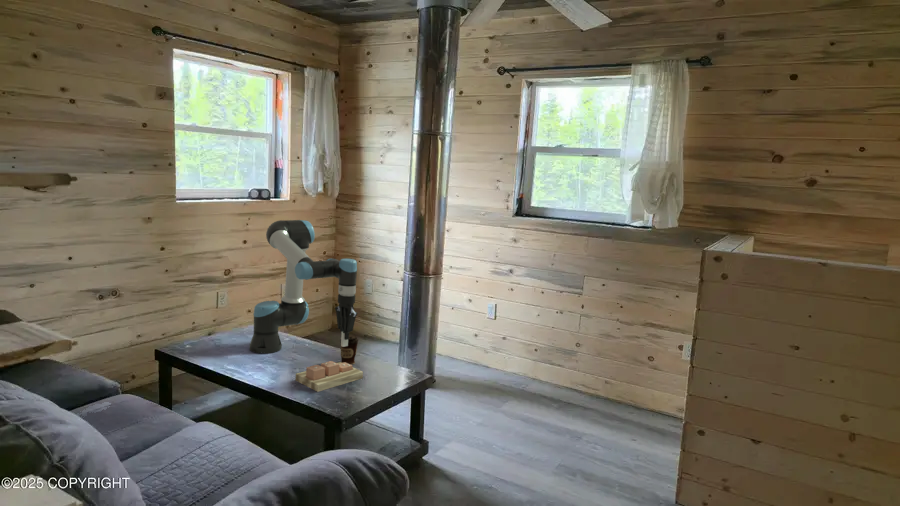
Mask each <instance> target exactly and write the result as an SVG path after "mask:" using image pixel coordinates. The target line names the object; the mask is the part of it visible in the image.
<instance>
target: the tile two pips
mask: <svg viewBox="0 0 900 506" xmlns="http://www.w3.org/2000/svg"><path fill="white" fill-rule="evenodd" d="M337 363H338V362H335V361H333V360H330V361H326V362H322V363H320V366H322V367H324V368H325V375H326V376H328V377H329V376H333V375H336V374H339V364H337Z"/></svg>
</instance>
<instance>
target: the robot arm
mask: <svg viewBox="0 0 900 506" xmlns="http://www.w3.org/2000/svg"><path fill="white" fill-rule="evenodd" d="M265 233H266V237H265V238H266V240H267V243H268V244H269V245H270V246H271V247H272V248H273V249H277V250H278V251H279V253H280V254H282V255H283V256H284V257H285V259H286V271H285V285H284V295H283V296H281V298H280V299H281V301H280V303H279V301H277V300H265V301H261V302H259V303H257V304H256V305H255V306H254V307H253V334H252V338H251V340H250V343H249V351H250V352H252V353H256V354H273V353H277V352H279V351H281V350H282V345H283V344H282V340H281V338H280V335H279V327H287V326H294V325H296V326H297V325H300V324H303V323H305V322H306V321H307V319H308V318H309V313H310V308H309V304H308V302H307V301H306V299H305V298H304V296H303V289H304V280H306V281H307V280H314V279H316V280H317V279H321V278H322V279H323V278H324V279H325V278H326V279H327V278H336V279H338V291H337V292H338V295H337V303H338V306H334V307H335V308H334V310H335V313H336V323H337V330H340V340H341V343H340V347H341V346H342V347H345V346H348V339H349V335H350V333H352V332H353V330H354V326H355V323H356V318H357V315H358V312H357V311H355V310H354V309H355V308H354V304H356V293H357V291H356V289H357V273H358V268H357V267H358V262H357V259H354V258H341V259H340V260H339V259H336V258H328V259H326V260H318V261H317V260H316V261H315V260H313V259H312V258H310V256H309V255H308V254H307V253H306V251H307V250H309V248H310V244H313V242H314V241H315V239H316V238H315V235H316V233H315V228H314V226H313V224H312V223H311V221H308V220H303V219H290V220H289V219H287V220H284V219H283V220H282V219H281V220H280V219H279V220H276V221H274V222H272V223H271V224H270V225H269V226H268V228H267V229H266V232H265Z"/></svg>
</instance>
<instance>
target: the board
mask: <svg viewBox="0 0 900 506" xmlns="http://www.w3.org/2000/svg"><path fill="white" fill-rule="evenodd" d="M336 363H337V364H340V363H342V362H341V361H339V362H336ZM294 379H295V382H297V383H300V384H302V385H304V386H305V387H306V388H307V387H308V388H310V389H311V390H313V391H315V392H317V393H319V392H322V391H326V390H328V389H332V388H335V387H338V386H341V385H345V384H349V383H352V382H354V381H358V380H361V379H364V372H363V371H362V370H360V369H358V368H356V367H353V370H350V371H347V372H343V373H342V372H340V371H339V374H336V375H333V376H329V377H328V376H326V375H325V378H322V379H319V380H315V381H313V380H311V379H309V378H307V377H306V370H305V371H302V372H298V373H295V378H294Z"/></svg>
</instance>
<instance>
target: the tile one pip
mask: <svg viewBox="0 0 900 506" xmlns="http://www.w3.org/2000/svg"><path fill="white" fill-rule="evenodd" d="M305 371H306V377H307V378H309V379H311V380H313V381H315V380H319V379H322V378H325V368H324V367H322V366H321V365H319V364H315V365H311V366H306V370H305Z"/></svg>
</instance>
